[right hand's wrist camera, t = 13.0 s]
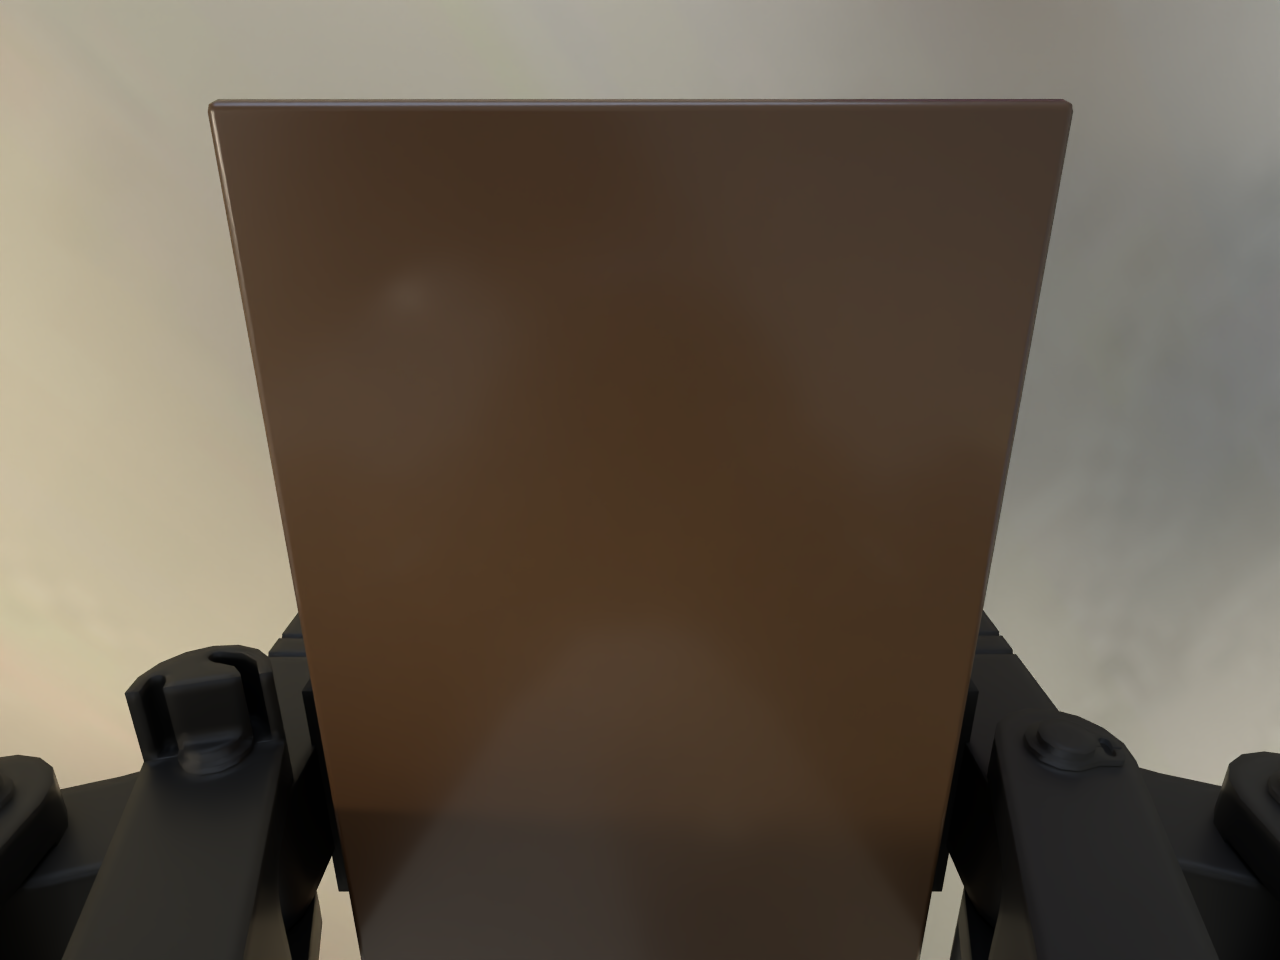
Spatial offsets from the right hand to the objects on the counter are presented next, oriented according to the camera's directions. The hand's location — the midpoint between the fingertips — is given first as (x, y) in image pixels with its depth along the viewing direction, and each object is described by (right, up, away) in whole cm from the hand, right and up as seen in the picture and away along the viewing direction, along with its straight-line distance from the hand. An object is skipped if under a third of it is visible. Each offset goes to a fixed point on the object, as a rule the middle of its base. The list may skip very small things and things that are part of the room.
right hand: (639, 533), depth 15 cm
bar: (0, -29, +12) cm, 31 cm away
